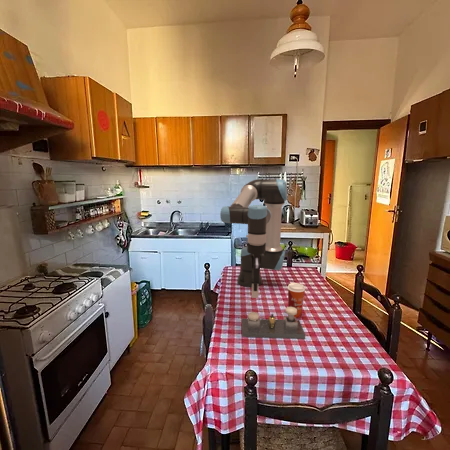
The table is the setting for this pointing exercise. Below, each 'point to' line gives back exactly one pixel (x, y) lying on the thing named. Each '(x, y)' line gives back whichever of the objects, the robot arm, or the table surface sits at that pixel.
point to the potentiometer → (272, 321)
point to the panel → (273, 329)
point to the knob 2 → (291, 313)
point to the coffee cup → (296, 297)
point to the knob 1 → (253, 316)
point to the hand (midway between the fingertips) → (254, 296)
